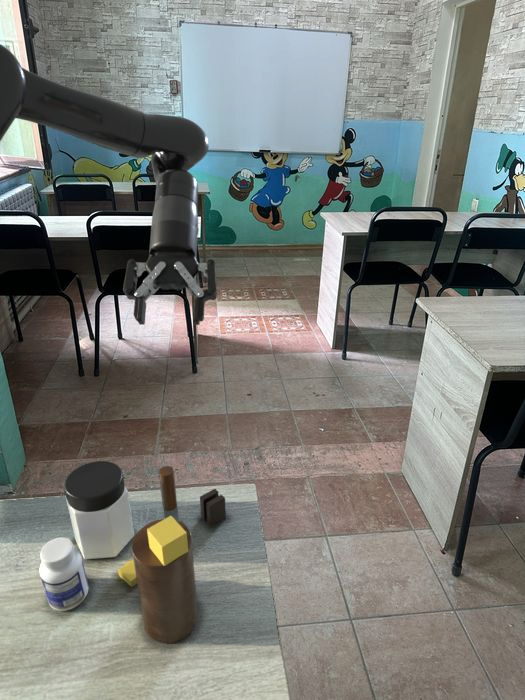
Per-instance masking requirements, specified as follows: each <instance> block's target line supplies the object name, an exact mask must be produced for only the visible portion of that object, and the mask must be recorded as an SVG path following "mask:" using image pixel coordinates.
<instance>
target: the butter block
mask: <svg viewBox="0 0 525 700" xmlns="http://www.w3.org/2000/svg"><path fill="white" fill-rule="evenodd" d="M163 519H164V518H163ZM147 533H148V540H149V547H150V549H151V550H152V551H153V553H154V554H155V555H156V556H157V558H158V559H159V560H160V561H161V563H162V564H163V565H164V566H166V565H167V564H169V563H170V562H172V561H174V560H175V559H177V558H178V557H180V556H182V555H183V554H185V553H186V552H188V542H187V533H186V531H185V530H184V529H183V528H182V527H181V526H180V525H179V524H178V523H177V521H176V520H175V519H174V518H173V517H172V516H170V517H168V518H166V519H164V520H162V521H161V522H159V523H157V524H155V525H153V526H152V527H150V528H148V529H147Z"/></svg>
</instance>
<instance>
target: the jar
mask: <svg viewBox="0 0 525 700" xmlns="http://www.w3.org/2000/svg"><path fill="white" fill-rule="evenodd" d="M124 479H125V478H124V473H123V470H122V468H121V467H120V466H119V464H116V463H114V462H113V461H112V462H111V461H108V460H95V461H91V462H87V463H84V464H82V465H79V466H78V467H77V468H74V469H73V470H72V471H71V472H70V473H69V474H68V475H67V477H66V478H65V481H64V485H63V488H64V497H65V500H66V505H67V510H68V513H69V517H70V518H69V519H70V522H71V527H72V531H73V536H74V539H75V542H76V544H77V547H78V549H79V550H80V551H79V552H80V554H81V556H82V558H83V559H84V560H94V559H95V560H96V559H108V558H116V557H117V556H118V555H119V554H120V553H121V551H122V550H123V549H124V548H125V547H126V545H128V544H129V542H130V541H131V540H133V539H134V537H135V529H134V522H133V515H132V510H131V505H130V503H131V502H130V497H129V490H128V489H127V487H126V485H125V480H124Z"/></svg>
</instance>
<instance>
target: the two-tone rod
mask: <svg viewBox="0 0 525 700" xmlns="http://www.w3.org/2000/svg"><path fill="white" fill-rule="evenodd" d="M158 478H159V487H160V495H161V501H162V502H161V503H162V515H163V519H166V518H168V517H170V516H172V517H173V518H174V519H175V520H177V521H179V522H180V518H179V517H180V516H179V505H178V499H177V488H176V477H175V469H174V468H173V466H170V465H165V466H162V467H160V468H159V470H158Z"/></svg>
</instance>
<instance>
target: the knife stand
mask: <svg viewBox="0 0 525 700" xmlns="http://www.w3.org/2000/svg"><path fill="white" fill-rule="evenodd" d="M199 504H200V506H199V507H200V518H201V519H202V520H203V521H204V522H205V521H207V525H208V526H209V527H210V528H212V527H214V526H215V525H217V524H219V523H221V522H222V521H225V520H226V519H227V514H226V497H225V496H224V495H223V494H220V495H219V490H218V489H217V488H212V489H210V491H208V492H206V493H204V494H202V495H200V496H199Z"/></svg>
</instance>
